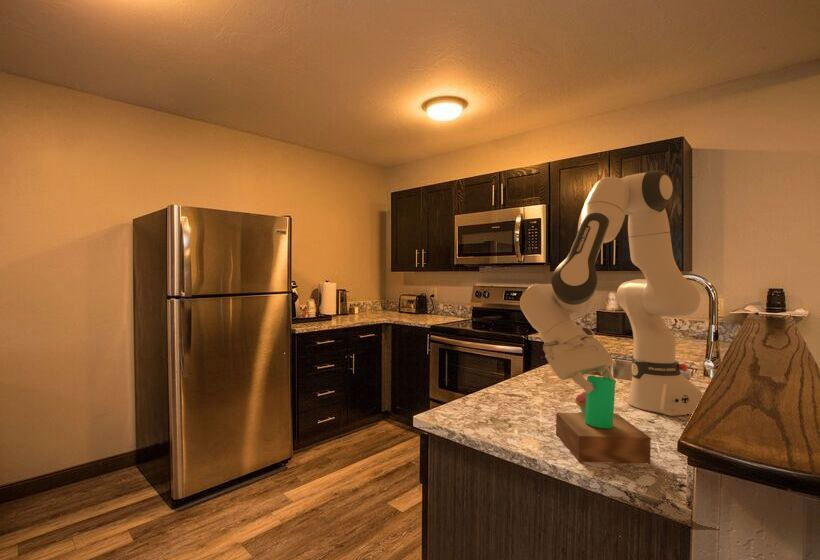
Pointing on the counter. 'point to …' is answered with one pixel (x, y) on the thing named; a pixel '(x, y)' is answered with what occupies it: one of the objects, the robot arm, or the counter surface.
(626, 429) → the walnut block
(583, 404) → the cupcake
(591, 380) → the candle
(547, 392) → the counter surface
